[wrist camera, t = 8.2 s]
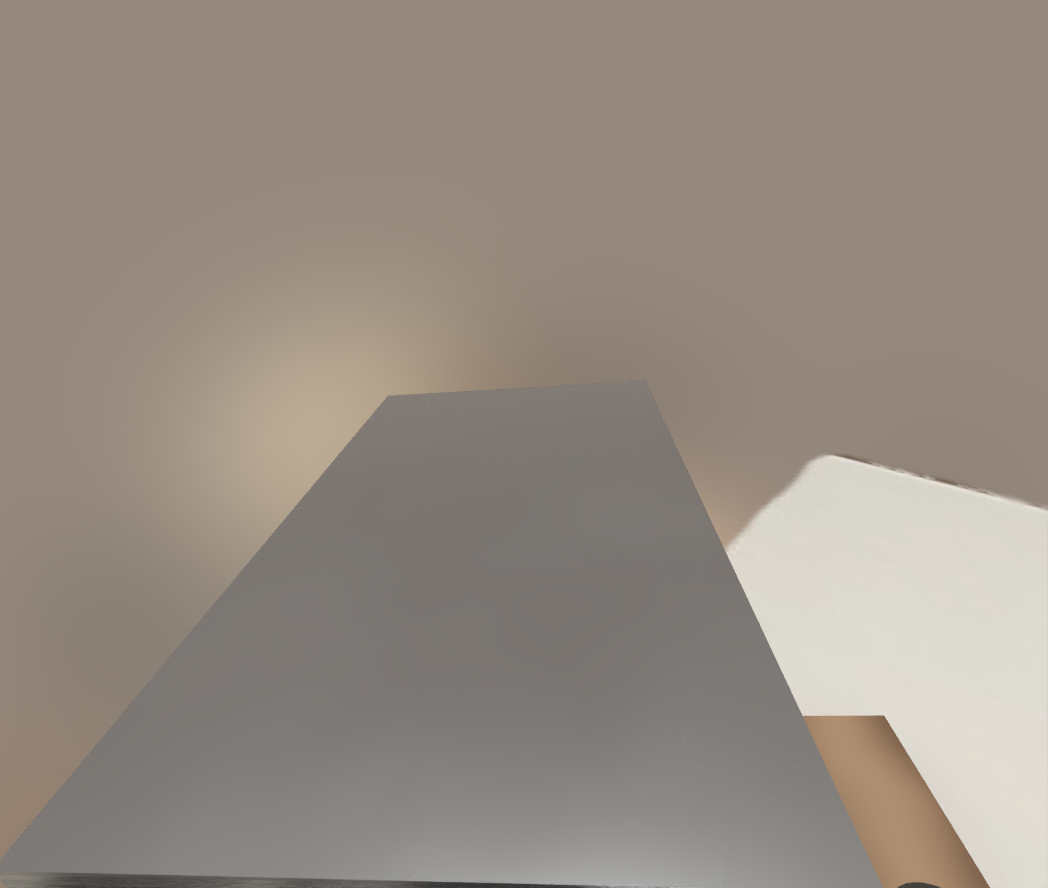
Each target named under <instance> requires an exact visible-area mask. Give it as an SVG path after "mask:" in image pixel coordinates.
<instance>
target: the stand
mask: <svg viewBox="0 0 1048 888" xmlns="http://www.w3.org/2000/svg"><path fill="white" fill-rule="evenodd" d="M803 718H804V720H805V723H806V725H807V727H808V729H809V731H810V733H811V735H812V737H813V740H814V742H815V744H816V746H817V748H818V750H819V752H820V755H821V757H822V759H823V761H824V763H825V765H826V767H827V769H828V772H829V774H830V776H831V778H832V780H833V782H834V784H835V786H836V789H837V791H838V793H839V795H840V797H841V799H842V801H843V804H844V806H845V808H846V810H847V812H848V814H849V816H850V818H851V821H852V823H853V825H854V827H855V829H856V831H857V833H858V836H859V838H860V840H861V842H862V844H863V846H864V848H865V850H866V853H867V855H868V857H869V859H870V861H871V863H872V865H873V867H874V870H875V872H876V874H877V876H878V878H879V880H880V882H881V885H882V887H883V888H898V887H899V886H901V885H903V884H905V883H911V882H922V883H927V884H932V885H935V886H938V887H940V888H990V887H989V885H988V884H987V882H986V881H985V879H984V877H983V876H982V874H981V872H980V871H979V869H978V868H977V866H976V864H975V863H974V861H973V859H972V858H971V856H970V855H969V853H968V851H967V850H966V848H965V846H964V845H963V843H962V842H961V840H960V838H959V837H958V835H957V833H956V832H955V830H954V829H953V827H952V825H951V824H950V822H949V820H948V819H947V817H946V816H945V814H944V812H943V811H942V809H941V807H940V806H939V804H938V803H937V801H936V799H935V798H934V796H933V794H932V793H931V791H930V790H929V788H928V786H927V785H926V783H925V781H924V780H923V778H922V777H921V775H920V773H919V772H918V770H917V768H916V767H915V765H914V764H913V762H912V760H911V759H910V757H909V755H908V754H907V752H906V751H905V749H904V747H903V746H902V744H901V742H900V741H899V739H898V738H897V736H896V734H895V733H894V731H893V729H892V728H891V726H890V725H889V723H888V721H887V720H886V718H885V716H803Z"/></svg>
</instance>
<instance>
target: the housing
mask: <svg viewBox="0 0 1048 888" xmlns="http://www.w3.org/2000/svg"><path fill="white" fill-rule="evenodd" d="M0 881H2V883H3V884H4V885H5V886H6V887H7V888H883V887H882V885H881V882H880V880H879V878H878V876H877V874H876V872H875V870H874V867H873V865H872V863H871V861H870V859H869V857H868V855H867V853H866V850H865V848H864V846H863V844H862V842H861V840H860V838H859V836H858V833H857V831H856V829H855V827H854V825H853V823H852V821H851V818H850V816H849V814H848V812H847V810H846V808H845V806H844V804H843V801H842V799H841V797H840V795H839V793H838V791H837V789H836V786H835V784H834V782H833V780H832V778H831V776H830V774H829V772H828V769H827V767H826V765H825V763H824V761H823V759H822V757H821V755H820V752H819V750H818V748H817V746H816V744H815V742H814V740H813V737H812V735H811V733H810V731H809V729H808V727H807V725H806V723H805V720H804V718H803V716H802V714H801V712H800V710H799V708H798V705H797V703H796V701H795V699H794V697H793V695H792V693H791V691H790V688H789V686H788V684H787V682H786V680H785V678H784V676H783V673H782V671H781V669H780V667H779V665H778V663H777V661H776V659H775V656H774V654H773V652H772V650H771V648H770V646H769V644H768V642H767V639H766V637H765V635H764V633H763V631H762V629H761V627H760V624H759V622H758V620H757V618H756V616H755V614H754V612H753V610H752V607H751V605H750V603H749V601H748V599H747V597H746V595H745V592H744V590H743V588H742V586H741V584H740V582H739V580H738V578H737V575H736V573H735V571H734V569H733V567H732V565H731V563H730V561H729V558H728V556H727V554H726V552H725V550H724V548H723V546H722V543H721V541H720V539H719V537H718V535H717V533H716V531H715V529H714V527H713V524H712V522H711V520H710V518H709V516H708V514H707V512H706V509H705V507H704V505H703V503H702V501H701V499H700V497H699V494H698V492H697V490H696V488H695V486H694V484H693V482H692V480H691V478H690V475H689V473H688V471H687V469H686V467H685V465H684V462H683V460H682V458H681V456H680V454H679V452H678V450H677V448H676V445H675V443H674V441H673V439H672V437H671V435H670V433H669V431H668V428H667V426H666V424H665V422H664V420H663V418H662V416H661V414H660V411H659V409H658V407H657V405H656V403H655V401H654V399H653V396H652V394H651V392H650V390H649V388H648V386H647V384H646V381H630V382H613V383H596V384H579V385H563V386H547V387H529V388H513V389H496V390H479V391H464V392H463V391H462V392H447V393H429V394H412V395H395V396H387V398H386V399H385V400H384V401H383V402H382V404H381V405H380V406H379V407H378V409H377V410H376V411H375V412H374V413H373V415H372V416H371V417H370V418H369V419H368V420H367V422H366V423H365V424H364V425H363V426H362V428H361V429H360V430H359V431H358V432H357V433H356V435H355V436H354V437H353V438H352V440H351V441H350V442H349V443H348V444H347V446H346V447H345V448H344V449H343V450H342V451H341V453H340V454H339V455H338V456H337V457H336V459H335V460H334V461H333V462H332V463H331V465H330V466H329V467H328V468H327V470H326V471H325V472H324V473H323V474H322V475H321V477H320V478H319V479H318V480H317V481H316V483H315V484H314V485H313V486H312V487H311V489H310V490H309V491H308V492H307V493H306V495H305V496H304V497H303V498H302V499H301V501H300V502H299V503H298V504H297V505H296V507H295V508H294V509H293V510H292V511H291V513H290V514H289V515H288V516H287V517H286V519H285V520H284V521H283V522H282V523H281V524H280V526H279V527H278V528H277V529H276V530H275V532H274V533H273V534H272V535H271V536H270V538H269V539H268V540H267V541H266V542H265V544H264V545H263V546H262V547H261V548H260V550H259V551H258V552H257V553H256V554H255V556H254V557H253V558H252V559H251V560H250V562H249V563H248V564H247V565H246V566H245V568H244V569H243V570H242V571H241V572H240V574H239V575H238V576H237V577H236V578H235V580H234V581H233V582H232V583H231V584H230V586H229V587H228V588H227V589H226V590H225V592H224V593H223V594H222V595H221V596H220V597H219V599H218V600H217V601H216V602H215V603H214V605H213V606H212V607H211V608H210V610H209V611H208V612H207V613H206V614H205V616H204V617H203V618H202V619H201V620H200V621H199V623H198V624H197V625H196V626H195V627H194V629H193V630H192V631H191V632H190V633H189V635H188V636H187V637H186V638H185V639H184V641H183V642H182V643H181V644H180V645H179V647H178V648H177V649H176V650H175V651H174V653H173V654H172V655H171V656H170V657H169V659H168V660H167V661H166V662H165V664H164V665H163V666H162V667H161V668H160V669H159V671H158V672H157V673H156V674H155V675H154V676H153V678H152V679H151V680H150V681H149V682H148V684H147V685H146V686H145V687H144V689H143V690H142V691H141V692H140V693H139V694H138V696H137V697H136V698H135V699H134V700H133V702H132V703H131V704H130V705H129V706H128V708H127V709H126V710H125V711H124V712H123V714H122V715H121V716H120V717H119V718H118V720H117V721H116V722H115V723H114V724H113V726H112V727H111V728H110V729H109V730H108V732H107V733H106V734H105V735H104V736H103V738H102V739H101V740H100V741H99V742H98V744H97V745H96V746H95V747H94V748H93V749H92V751H91V752H90V753H89V754H88V755H87V757H86V758H85V759H84V760H83V761H82V763H81V764H80V765H79V766H78V767H77V769H76V770H75V771H74V772H73V773H72V775H71V776H70V777H69V778H68V780H67V781H66V782H65V783H64V784H63V785H62V787H61V788H60V789H59V790H58V791H57V793H56V794H55V795H54V796H53V797H52V799H51V800H50V801H49V802H48V803H47V805H46V806H45V807H44V808H43V809H42V811H41V812H40V813H39V814H38V815H37V817H36V818H35V819H34V820H33V821H32V823H31V824H30V825H29V826H28V827H27V829H26V830H25V831H24V832H23V833H22V834H21V836H20V837H19V838H18V839H17V841H16V842H15V843H14V844H13V845H12V847H11V848H10V849H9V850H8V851H7V853H6V854H5V855H4V856H3V857H2V858H1V860H0Z"/></svg>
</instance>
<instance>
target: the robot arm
mask: <svg viewBox="0 0 1048 888" xmlns="http://www.w3.org/2000/svg"><path fill="white" fill-rule="evenodd" d="M898 888H940V887H938V886H935V885H932V884H927V883H922V882H911V883H905V884H903V885H901V886H899V887H898Z"/></svg>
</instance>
